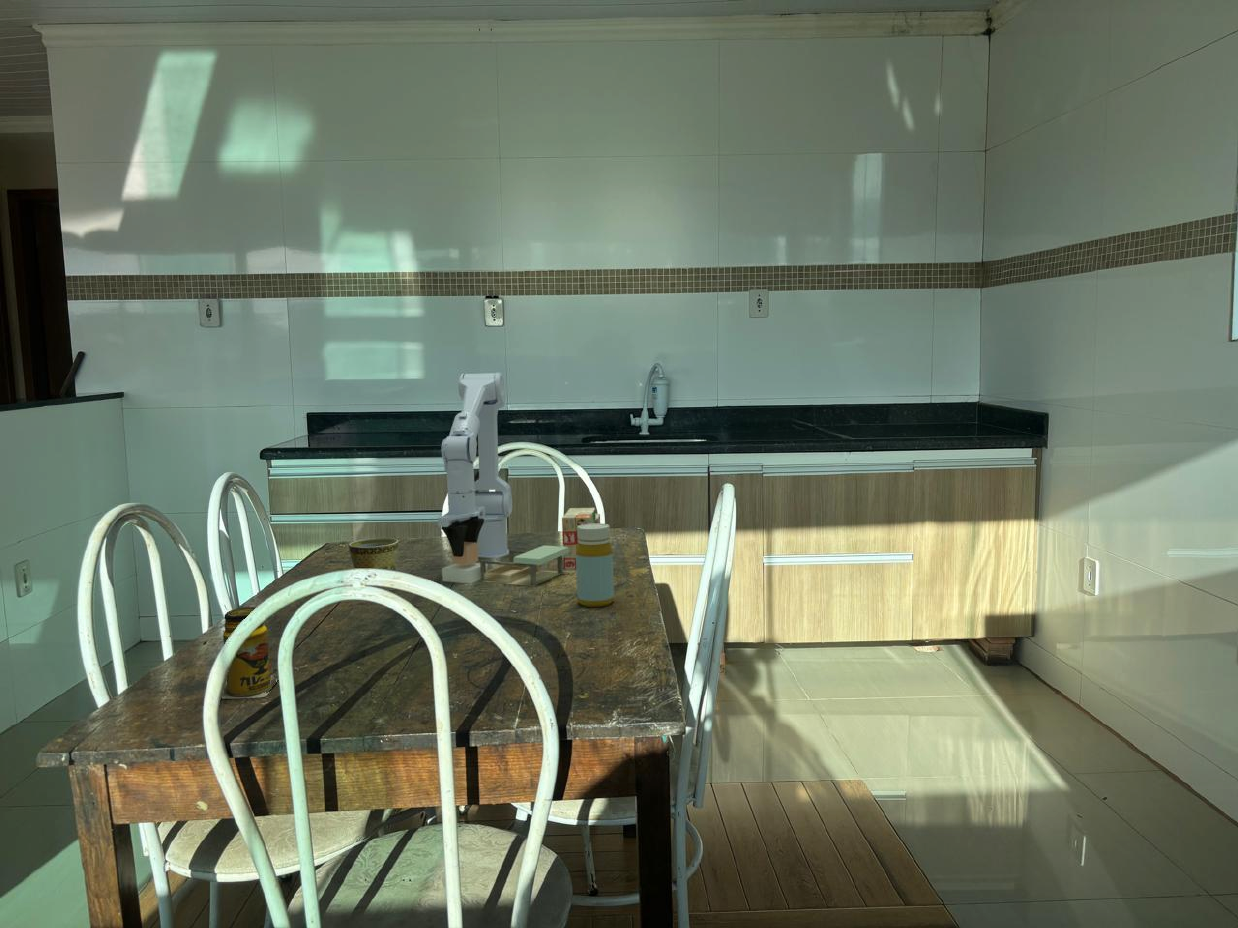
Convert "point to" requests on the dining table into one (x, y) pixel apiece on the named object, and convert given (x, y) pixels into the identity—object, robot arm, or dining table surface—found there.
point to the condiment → (247, 660)
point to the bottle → (594, 565)
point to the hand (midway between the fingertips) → (464, 554)
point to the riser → (462, 573)
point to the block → (467, 554)
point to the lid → (541, 555)
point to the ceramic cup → (374, 553)
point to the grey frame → (517, 571)
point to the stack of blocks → (575, 531)
